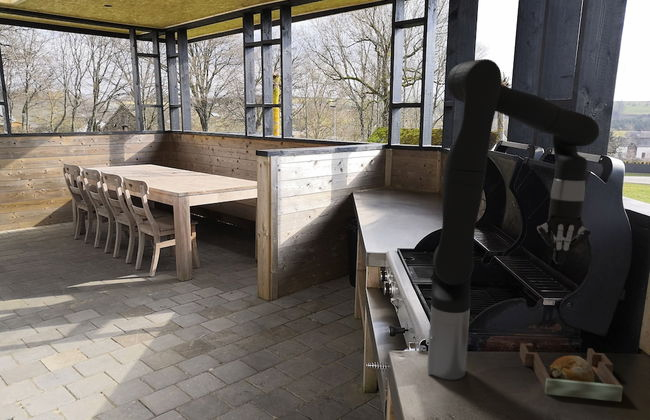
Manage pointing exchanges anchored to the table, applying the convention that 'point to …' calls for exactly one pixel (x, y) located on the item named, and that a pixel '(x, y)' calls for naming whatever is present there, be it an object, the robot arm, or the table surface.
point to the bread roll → (572, 369)
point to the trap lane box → (580, 389)
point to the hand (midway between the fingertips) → (559, 263)
